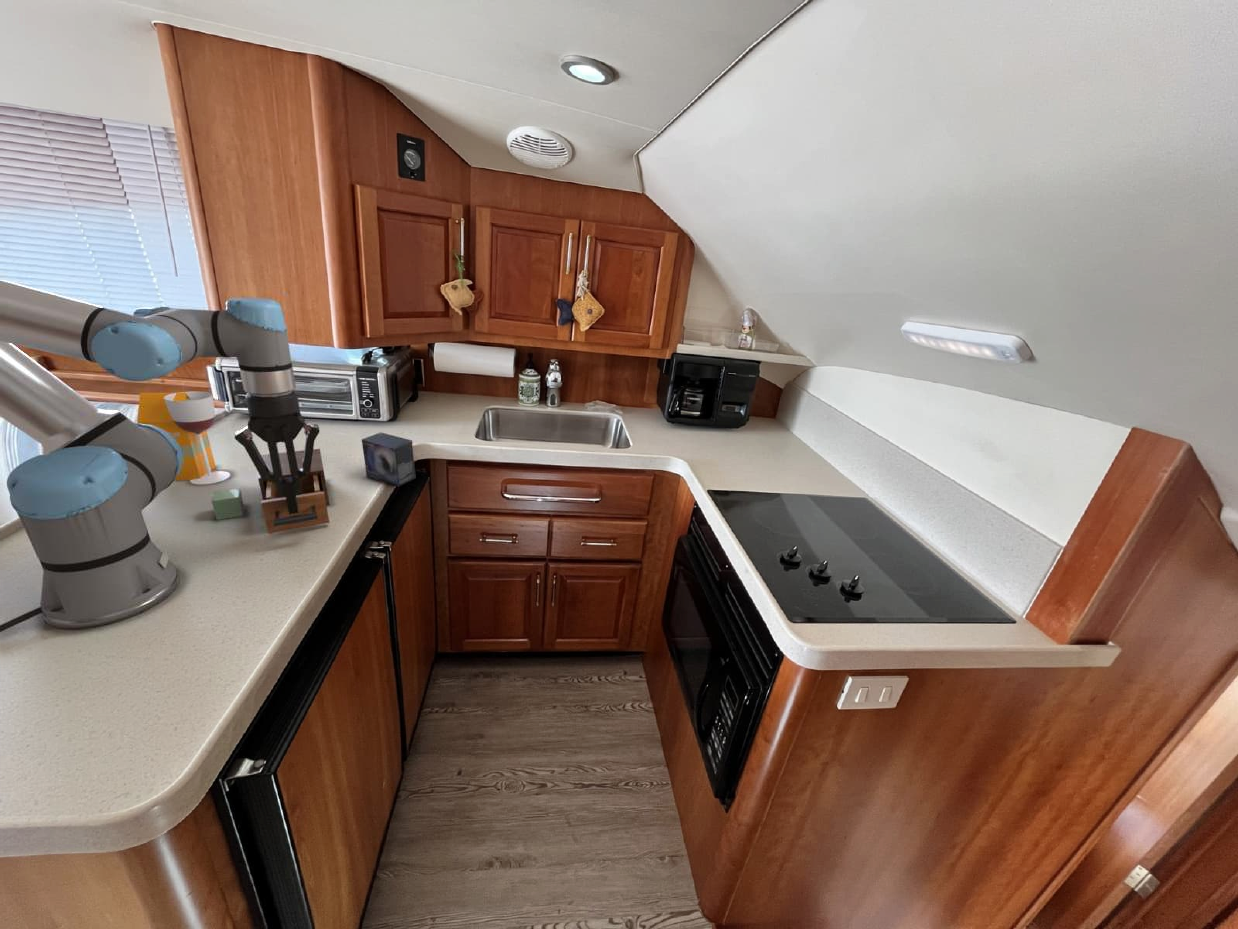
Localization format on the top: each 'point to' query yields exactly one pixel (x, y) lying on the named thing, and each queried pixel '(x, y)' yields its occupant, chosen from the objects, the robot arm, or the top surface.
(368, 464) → the small box
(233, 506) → the block
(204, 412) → the wineglass
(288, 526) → the drawer
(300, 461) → the cabinet
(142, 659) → the top surface
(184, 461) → the orange juice
